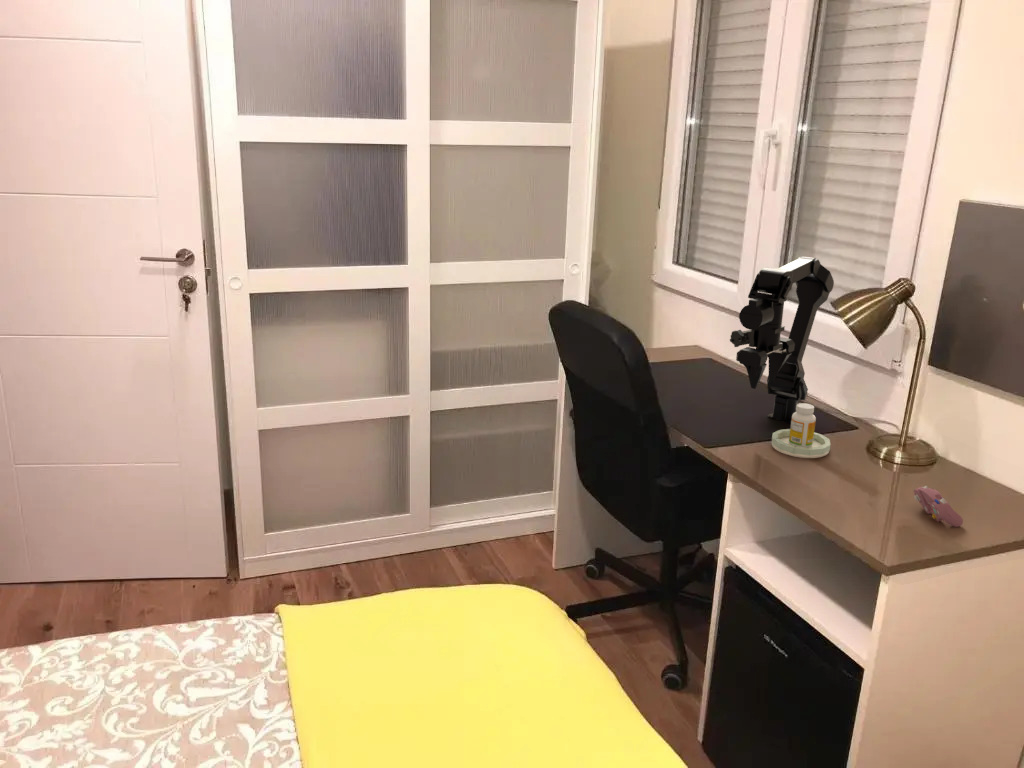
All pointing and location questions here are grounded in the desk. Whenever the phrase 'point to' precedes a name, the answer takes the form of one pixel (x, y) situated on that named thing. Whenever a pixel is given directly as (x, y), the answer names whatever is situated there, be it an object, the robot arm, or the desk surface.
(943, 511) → the video game controller
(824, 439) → the round dish
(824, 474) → the desk surface
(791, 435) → the supplement bottle
